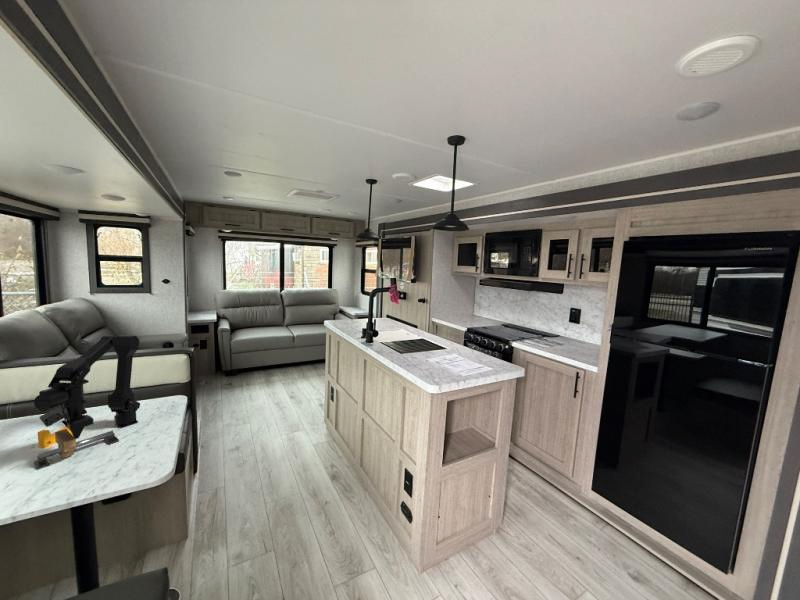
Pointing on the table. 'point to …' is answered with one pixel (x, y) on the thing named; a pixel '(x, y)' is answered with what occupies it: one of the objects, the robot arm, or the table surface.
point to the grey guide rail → (108, 437)
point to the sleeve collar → (65, 442)
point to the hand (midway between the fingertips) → (76, 438)
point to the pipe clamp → (48, 437)
